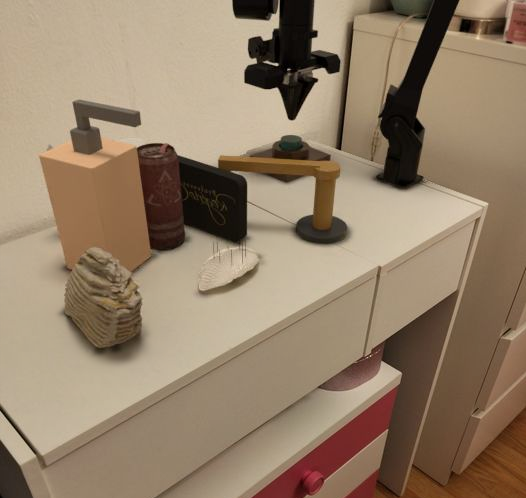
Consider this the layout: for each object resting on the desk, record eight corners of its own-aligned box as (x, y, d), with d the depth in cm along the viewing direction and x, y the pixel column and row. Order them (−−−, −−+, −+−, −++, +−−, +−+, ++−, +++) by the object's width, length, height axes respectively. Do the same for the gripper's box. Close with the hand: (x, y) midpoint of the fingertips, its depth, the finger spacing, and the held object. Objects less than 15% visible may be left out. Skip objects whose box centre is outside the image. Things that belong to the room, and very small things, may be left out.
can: (192, 233, 86) (185, 143, 77) (174, 253, 81) (164, 160, 72) (157, 227, 87) (146, 138, 78) (137, 246, 83) (123, 154, 74)
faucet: (319, 214, 91) (324, 161, 86) (357, 232, 87) (364, 177, 81) (285, 230, 87) (287, 175, 81) (322, 249, 83) (328, 192, 77)
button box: (293, 151, 113) (294, 131, 110) (329, 165, 107) (331, 145, 105) (250, 166, 107) (250, 145, 104) (286, 182, 101) (287, 161, 99)
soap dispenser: (66, 268, 78) (24, 105, 64) (106, 242, 84) (76, 87, 69) (139, 292, 73) (111, 123, 59) (175, 263, 79) (159, 102, 65)
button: (290, 142, 107) (291, 133, 106) (305, 148, 105) (306, 138, 104) (276, 147, 105) (276, 138, 104) (290, 153, 103) (291, 143, 101)
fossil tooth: (100, 301, 74) (163, 345, 65) (56, 318, 70) (116, 367, 61) (82, 219, 67) (150, 256, 58) (33, 233, 64) (97, 274, 55)
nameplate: (247, 239, 85) (247, 177, 78) (239, 244, 84) (239, 181, 77) (148, 202, 94) (141, 143, 87) (140, 206, 92) (132, 146, 86)
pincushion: (219, 302, 72) (217, 264, 68) (184, 286, 75) (180, 249, 71) (271, 263, 79) (272, 227, 76) (238, 250, 82) (237, 215, 78)
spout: (339, 179, 83) (341, 159, 81) (338, 190, 80) (340, 170, 78) (222, 171, 85) (221, 152, 83) (217, 182, 82) (216, 162, 80)
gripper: (300, 10, 101) (295, 100, 111) (221, 22, 91) (224, 119, 101) (346, 19, 95) (337, 113, 105) (267, 32, 85) (266, 135, 95)
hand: (291, 119), depth 101 cm, fingers closed
